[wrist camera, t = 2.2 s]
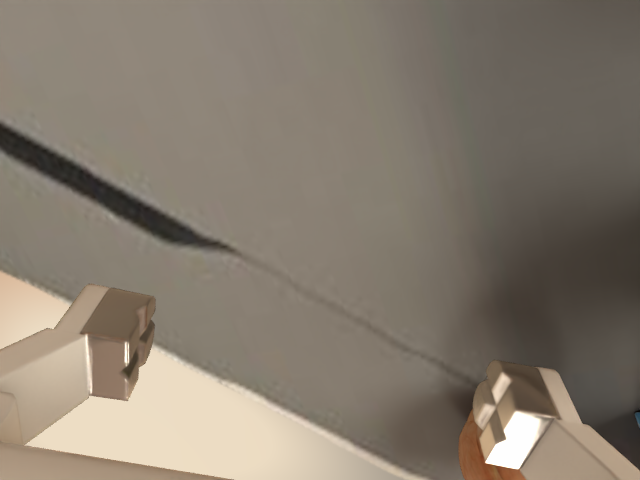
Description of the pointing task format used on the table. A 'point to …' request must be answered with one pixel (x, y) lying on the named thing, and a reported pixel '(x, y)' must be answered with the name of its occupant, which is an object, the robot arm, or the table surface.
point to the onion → (480, 457)
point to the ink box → (638, 417)
